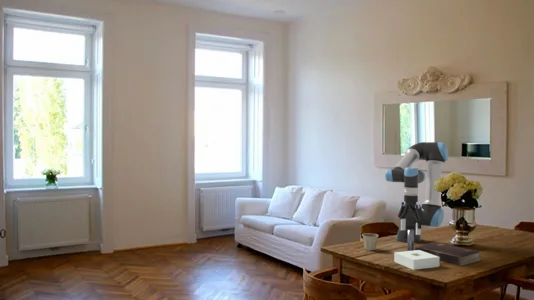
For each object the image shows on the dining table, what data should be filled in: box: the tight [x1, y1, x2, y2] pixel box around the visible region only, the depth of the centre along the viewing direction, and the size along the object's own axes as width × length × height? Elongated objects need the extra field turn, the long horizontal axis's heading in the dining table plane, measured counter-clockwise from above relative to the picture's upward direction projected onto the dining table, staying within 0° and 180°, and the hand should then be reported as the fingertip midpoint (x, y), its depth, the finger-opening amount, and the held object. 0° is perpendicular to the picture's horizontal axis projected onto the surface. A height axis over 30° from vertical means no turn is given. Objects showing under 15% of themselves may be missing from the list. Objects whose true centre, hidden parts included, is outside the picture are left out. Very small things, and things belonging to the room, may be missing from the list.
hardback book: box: [414, 241, 482, 266], centre depth 259 cm, size 29×19×5 cm, turn 35°
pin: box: [406, 229, 415, 251], centre depth 265 cm, size 3×3×14 cm
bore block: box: [393, 250, 440, 271], centre depth 244 cm, size 16×16×5 cm
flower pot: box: [361, 233, 379, 251], centre depth 276 cm, size 9×9×9 cm
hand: (410, 232), depth 264 cm, fingers open, 13 cm apart
